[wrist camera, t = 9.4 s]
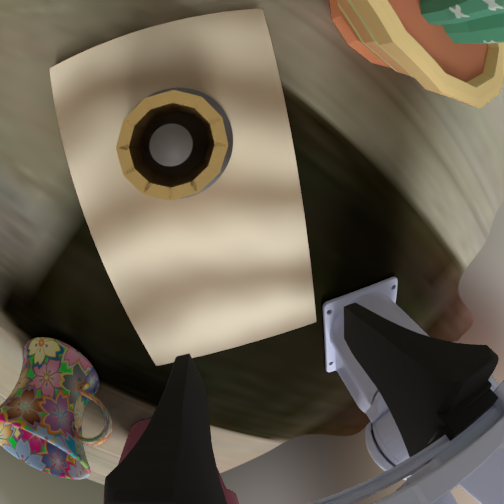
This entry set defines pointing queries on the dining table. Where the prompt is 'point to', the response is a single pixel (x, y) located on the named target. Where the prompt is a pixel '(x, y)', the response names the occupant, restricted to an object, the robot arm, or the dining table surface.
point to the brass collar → (135, 156)
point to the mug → (52, 409)
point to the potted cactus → (431, 42)
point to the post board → (197, 205)
